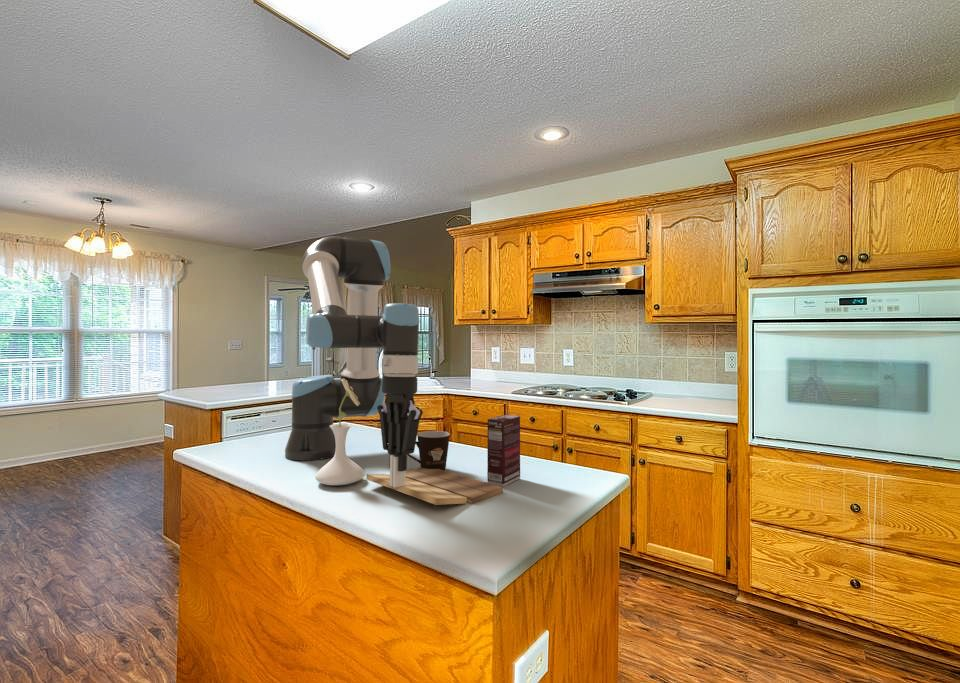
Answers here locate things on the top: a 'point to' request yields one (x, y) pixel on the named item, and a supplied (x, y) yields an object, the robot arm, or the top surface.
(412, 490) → the plank
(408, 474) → the laid strip
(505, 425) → the supplement box
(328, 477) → the flower in vase
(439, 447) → the coffee mug
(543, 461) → the top surface
